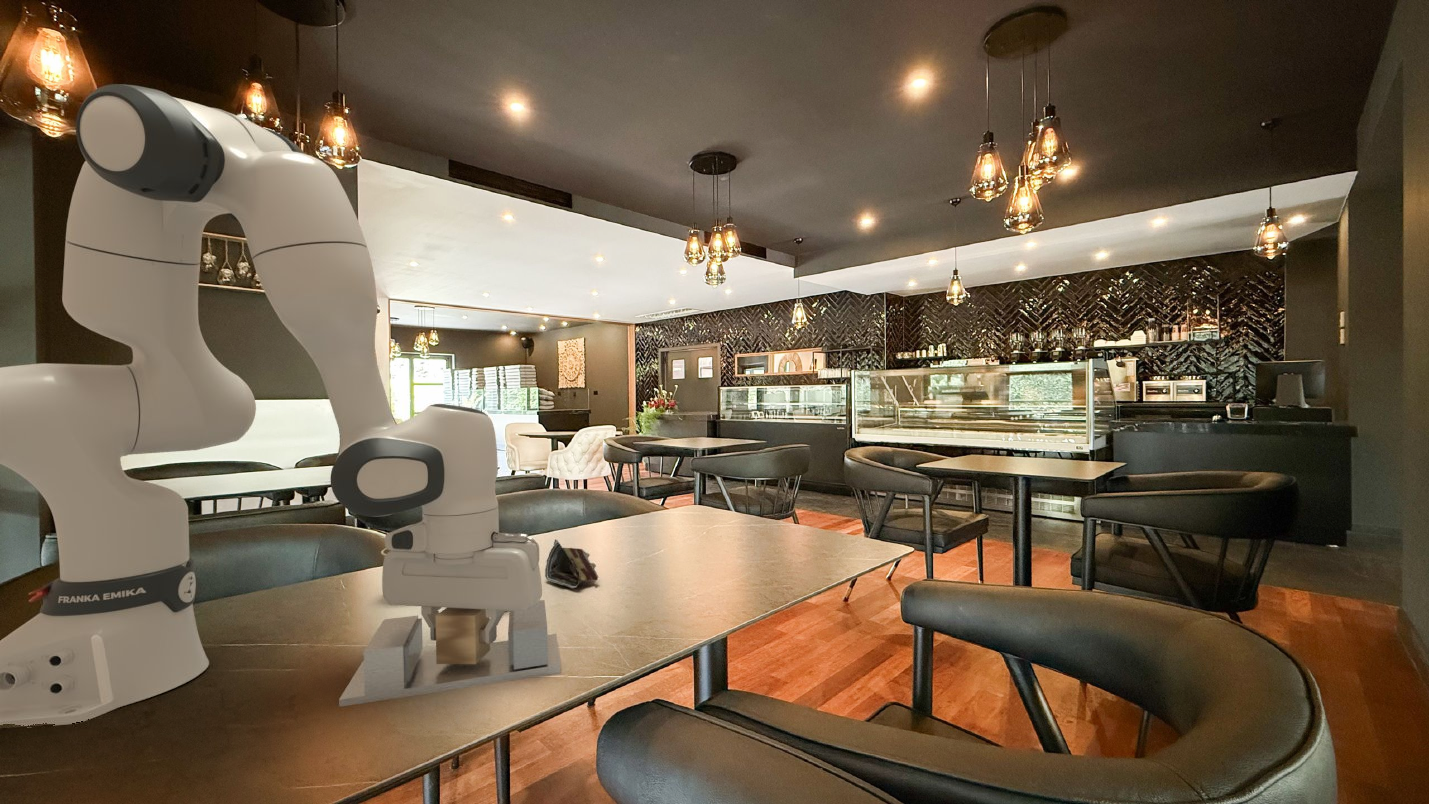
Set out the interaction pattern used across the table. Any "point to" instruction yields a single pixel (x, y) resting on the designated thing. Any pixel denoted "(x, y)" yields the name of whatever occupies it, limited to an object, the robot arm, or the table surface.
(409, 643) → the vise base
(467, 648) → the block
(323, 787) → the table surface
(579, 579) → the chocolate cake
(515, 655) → the block
